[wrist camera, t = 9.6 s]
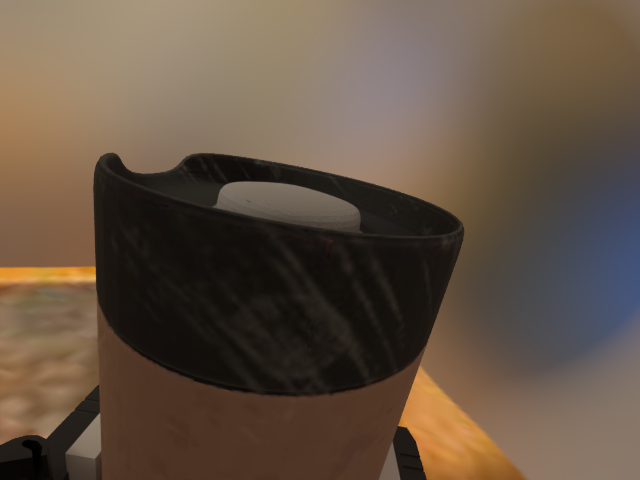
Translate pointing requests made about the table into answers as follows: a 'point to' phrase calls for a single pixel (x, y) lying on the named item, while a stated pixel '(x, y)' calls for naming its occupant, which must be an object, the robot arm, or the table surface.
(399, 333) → the travel mug
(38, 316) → the table surface
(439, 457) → the table surface
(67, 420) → the robot arm
